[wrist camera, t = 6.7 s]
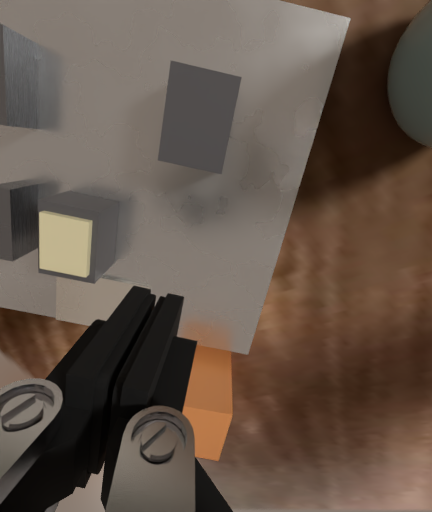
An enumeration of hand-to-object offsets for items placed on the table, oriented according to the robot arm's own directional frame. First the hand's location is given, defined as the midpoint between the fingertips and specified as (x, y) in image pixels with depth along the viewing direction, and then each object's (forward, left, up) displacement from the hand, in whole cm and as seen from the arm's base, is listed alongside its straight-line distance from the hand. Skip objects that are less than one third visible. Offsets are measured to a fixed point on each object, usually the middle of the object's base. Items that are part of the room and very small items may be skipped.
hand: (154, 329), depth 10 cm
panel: (+3, -3, -11) cm, 11 cm away
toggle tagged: (+6, 0, -9) cm, 11 cm away
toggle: (0, -7, -9) cm, 11 cm away
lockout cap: (-3, +10, -11) cm, 15 cm away
